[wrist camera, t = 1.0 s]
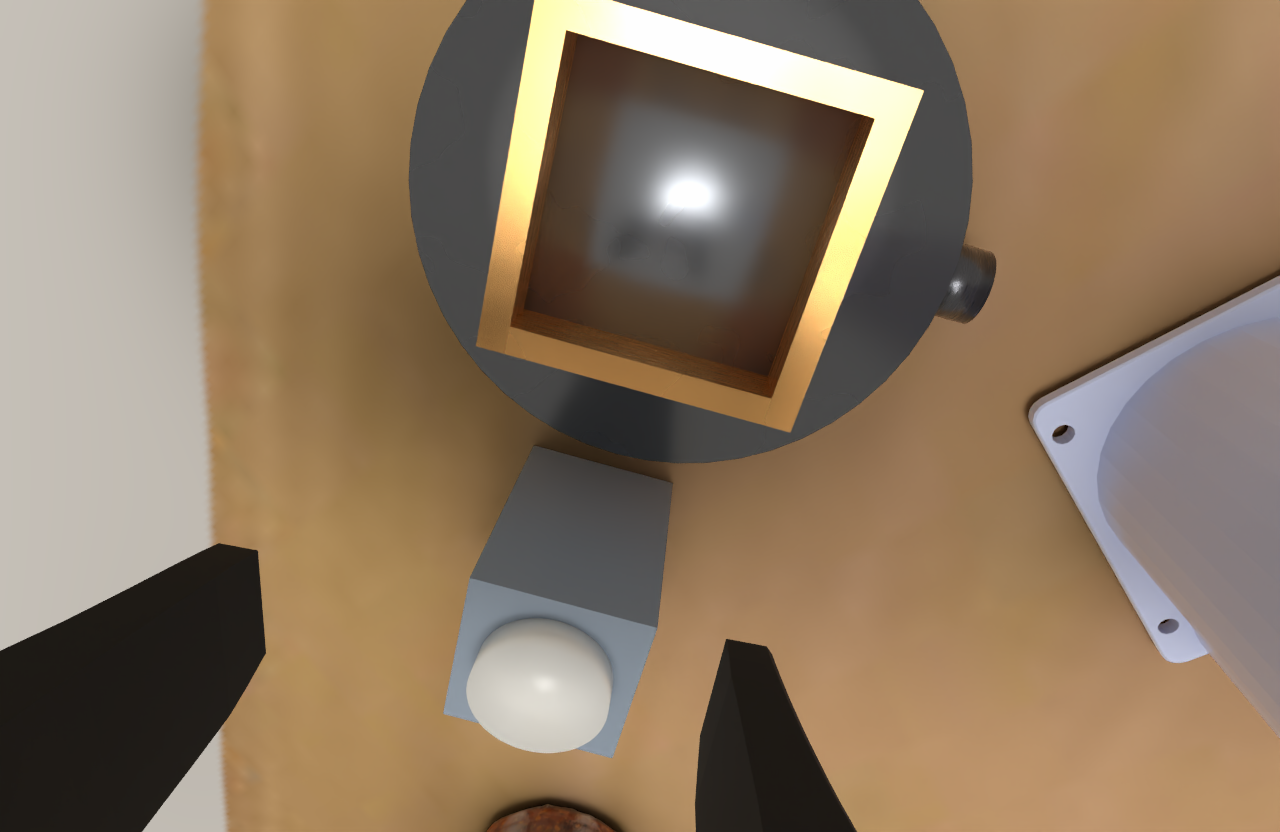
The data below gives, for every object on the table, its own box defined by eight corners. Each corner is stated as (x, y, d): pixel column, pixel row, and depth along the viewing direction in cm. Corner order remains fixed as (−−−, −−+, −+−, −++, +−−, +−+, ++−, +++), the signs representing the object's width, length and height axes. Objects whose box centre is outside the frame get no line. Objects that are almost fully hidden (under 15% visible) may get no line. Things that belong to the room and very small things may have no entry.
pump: (672, 482, 21) (654, 655, 15) (627, 622, 23) (595, 823, 17) (534, 444, 21) (457, 602, 15) (502, 589, 23) (424, 778, 17)
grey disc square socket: (1071, 14, 15) (1187, -2, 12) (867, 466, 20) (902, 559, 16) (498, -153, 15) (424, -225, 11) (428, 345, 20) (359, 412, 16)
